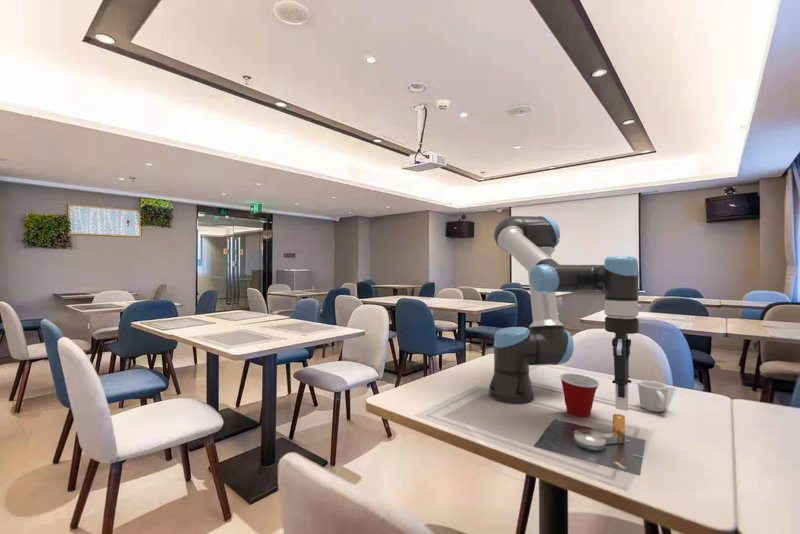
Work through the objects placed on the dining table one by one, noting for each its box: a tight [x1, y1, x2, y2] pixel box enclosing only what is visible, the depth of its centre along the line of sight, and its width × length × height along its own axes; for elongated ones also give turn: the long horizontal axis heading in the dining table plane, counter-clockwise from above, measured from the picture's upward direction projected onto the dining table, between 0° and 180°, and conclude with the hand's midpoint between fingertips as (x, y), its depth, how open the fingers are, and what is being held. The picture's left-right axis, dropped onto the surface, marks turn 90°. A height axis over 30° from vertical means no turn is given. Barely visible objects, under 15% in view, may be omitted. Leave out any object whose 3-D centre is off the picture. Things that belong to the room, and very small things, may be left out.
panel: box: [533, 419, 646, 476], centre depth 94 cm, size 22×20×2 cm
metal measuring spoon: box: [574, 413, 626, 450], centre depth 94 cm, size 13×7×6 cm, turn 99°
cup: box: [637, 379, 669, 413], centre depth 119 cm, size 11×8×8 cm
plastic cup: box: [559, 372, 601, 418], centre depth 113 cm, size 11×11×12 cm
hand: (621, 408), depth 98 cm, fingers closed
